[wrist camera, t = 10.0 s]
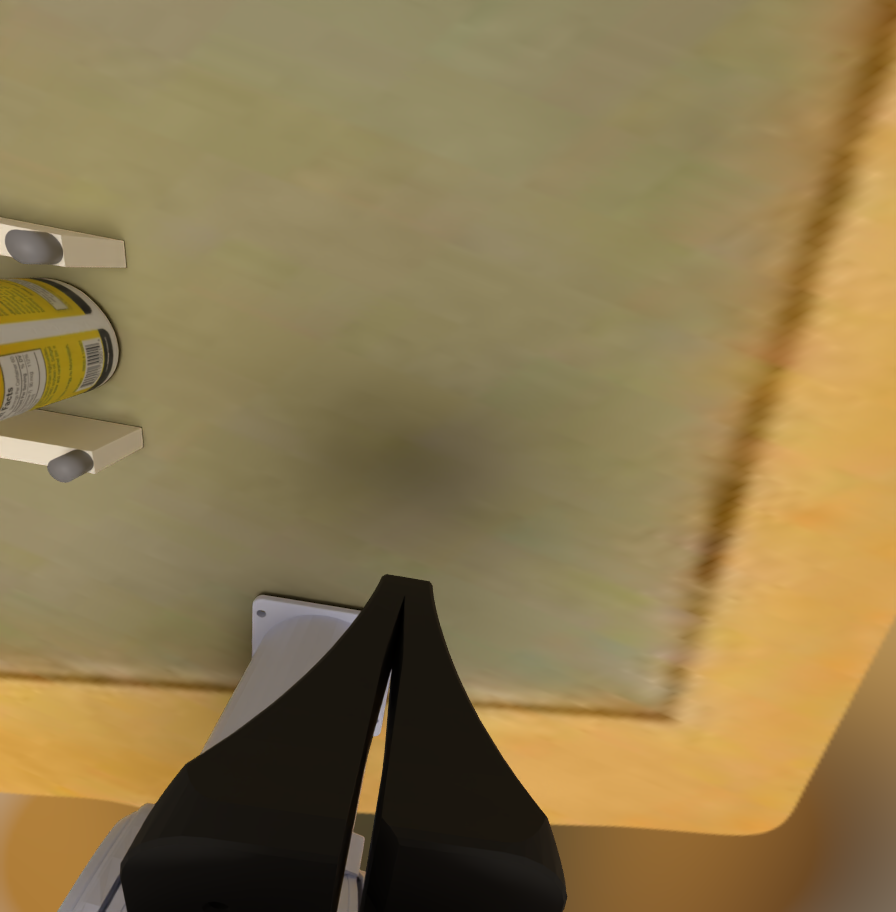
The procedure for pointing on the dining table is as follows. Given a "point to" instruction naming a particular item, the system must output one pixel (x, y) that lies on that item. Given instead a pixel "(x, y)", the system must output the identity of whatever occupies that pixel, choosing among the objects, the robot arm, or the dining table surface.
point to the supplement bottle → (50, 344)
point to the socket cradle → (48, 433)
